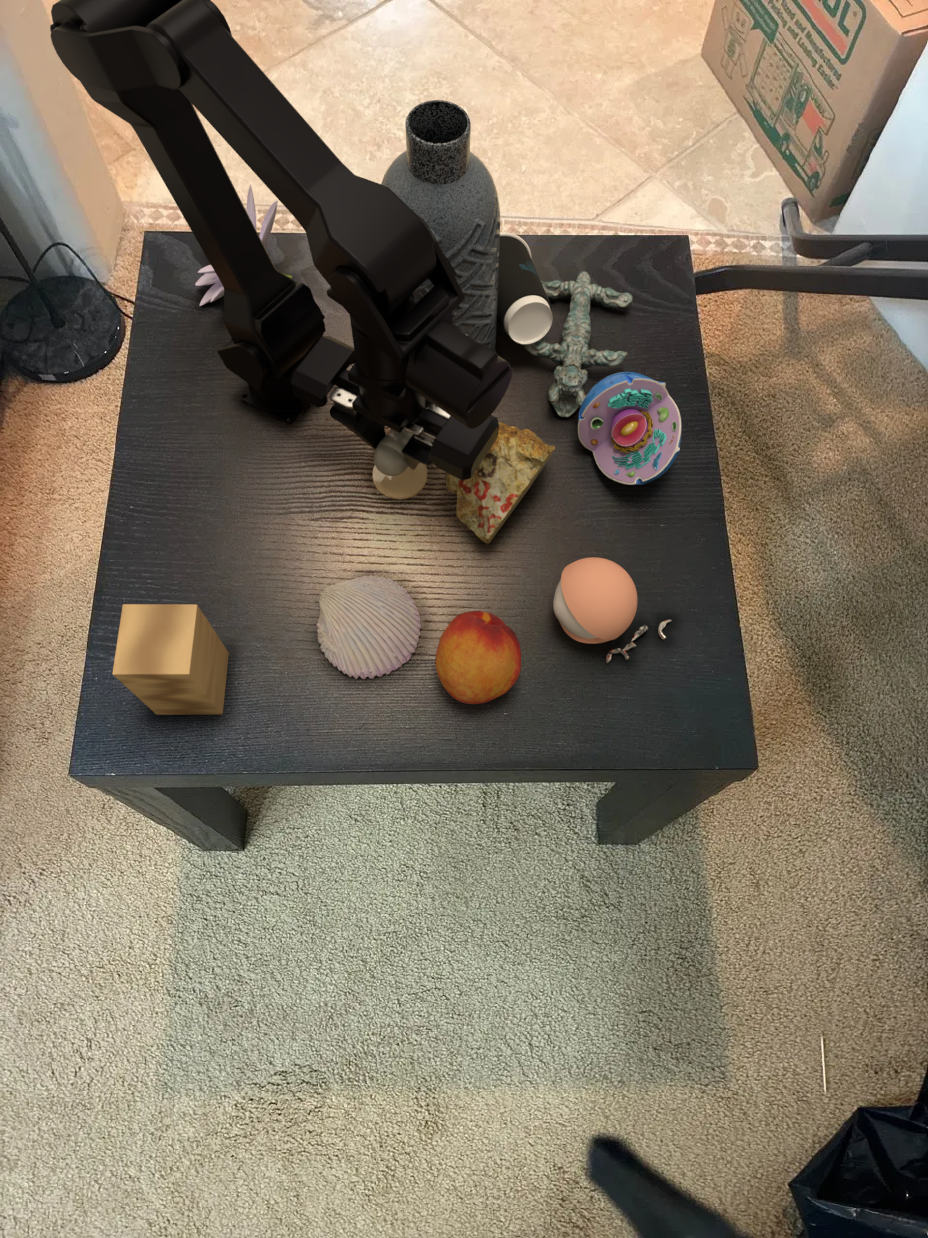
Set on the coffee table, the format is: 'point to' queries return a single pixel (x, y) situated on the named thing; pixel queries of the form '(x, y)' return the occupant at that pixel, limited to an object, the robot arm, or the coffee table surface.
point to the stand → (171, 659)
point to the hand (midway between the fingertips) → (398, 457)
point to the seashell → (367, 626)
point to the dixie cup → (520, 293)
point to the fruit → (478, 657)
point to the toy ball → (595, 600)
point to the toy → (636, 635)
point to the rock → (499, 480)
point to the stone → (392, 453)
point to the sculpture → (577, 340)
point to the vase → (453, 208)
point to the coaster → (401, 482)
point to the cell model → (630, 427)
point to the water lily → (266, 228)
